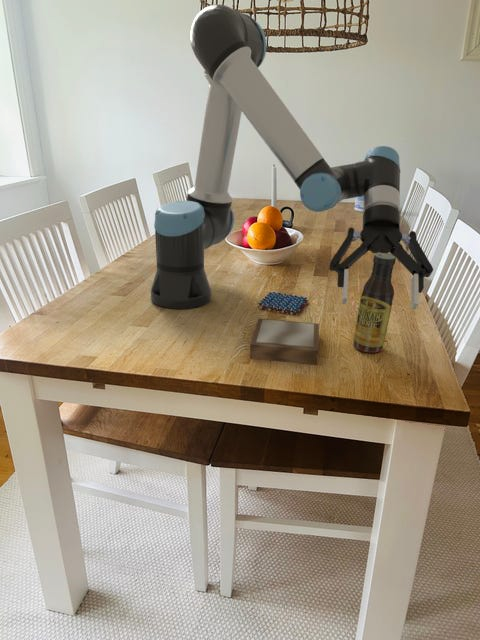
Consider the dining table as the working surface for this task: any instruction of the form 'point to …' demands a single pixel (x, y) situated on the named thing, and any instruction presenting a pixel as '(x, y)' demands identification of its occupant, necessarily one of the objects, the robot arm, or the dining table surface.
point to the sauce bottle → (375, 306)
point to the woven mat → (283, 303)
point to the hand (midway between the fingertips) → (379, 304)
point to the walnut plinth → (285, 341)
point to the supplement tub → (359, 204)
